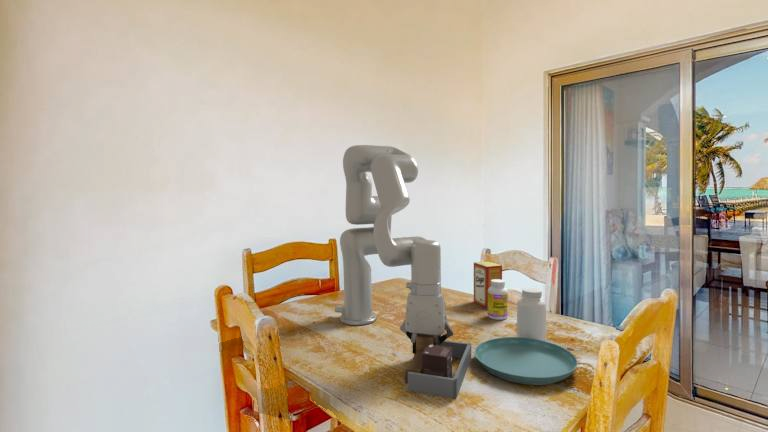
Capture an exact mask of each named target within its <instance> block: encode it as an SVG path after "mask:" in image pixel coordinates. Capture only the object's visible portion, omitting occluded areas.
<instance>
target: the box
mask: <svg viewBox="0 0 768 432" xmlns="http://www.w3.org/2000/svg"><path fill="white" fill-rule="evenodd" d="M422 374H428V375H435V376H441V377H448V378H453V357H452V347H446V346H438V345H427V347H426V348H425V349H424V351H423V352H422Z"/></svg>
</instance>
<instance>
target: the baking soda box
mask: <svg viewBox="0 0 768 432" xmlns="http://www.w3.org/2000/svg"><path fill="white" fill-rule="evenodd" d="M493 279H501V280H503V265H502V264H498V263H495V262H491V261H476V262H473V303H475V304H477V305H479V306H481V307H483V308H485V309H488V289H489V288H490V287H491V286H492V285H491V280H493Z"/></svg>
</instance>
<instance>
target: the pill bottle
mask: <svg viewBox="0 0 768 432" xmlns="http://www.w3.org/2000/svg"><path fill="white" fill-rule="evenodd" d="M521 290H522V291H521V297H519V299H517V302H516V337H522V338H531V339H537V340H542V341H546V342H547V304H546V301H545V300H543V299H542V295H543V293H542V290H541V289H537V288H532V287H526V288H523V289H521Z"/></svg>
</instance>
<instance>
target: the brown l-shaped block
mask: <svg viewBox="0 0 768 432" xmlns="http://www.w3.org/2000/svg"><path fill="white" fill-rule="evenodd" d="M427 345H435V340H434V336H433V335H425V334H418V335H417V336H416V354H415V356H414V355H413V357H412V359H411V360H410V361H409V363H408V364H407V366H406V367H405V368H404V382H405V383H406V384H408V372H415V373H421V374H422V352H423V351H424V349H425V348H426V347H427Z"/></svg>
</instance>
